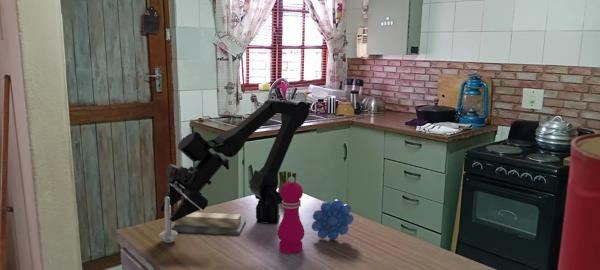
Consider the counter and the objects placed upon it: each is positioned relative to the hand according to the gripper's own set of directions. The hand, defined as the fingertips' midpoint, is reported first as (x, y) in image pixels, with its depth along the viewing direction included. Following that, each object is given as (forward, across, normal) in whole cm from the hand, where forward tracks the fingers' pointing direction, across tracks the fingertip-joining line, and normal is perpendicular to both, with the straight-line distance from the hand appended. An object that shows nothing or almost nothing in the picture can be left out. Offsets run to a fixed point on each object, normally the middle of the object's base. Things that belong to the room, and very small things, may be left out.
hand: (166, 215), depth 126 cm
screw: (+5, 0, +6) cm, 8 cm away
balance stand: (-4, -4, +15) cm, 16 cm away
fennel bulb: (-26, -10, +36) cm, 46 cm away
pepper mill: (-14, +21, +24) cm, 35 cm away
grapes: (-24, +21, +34) cm, 47 cm away
